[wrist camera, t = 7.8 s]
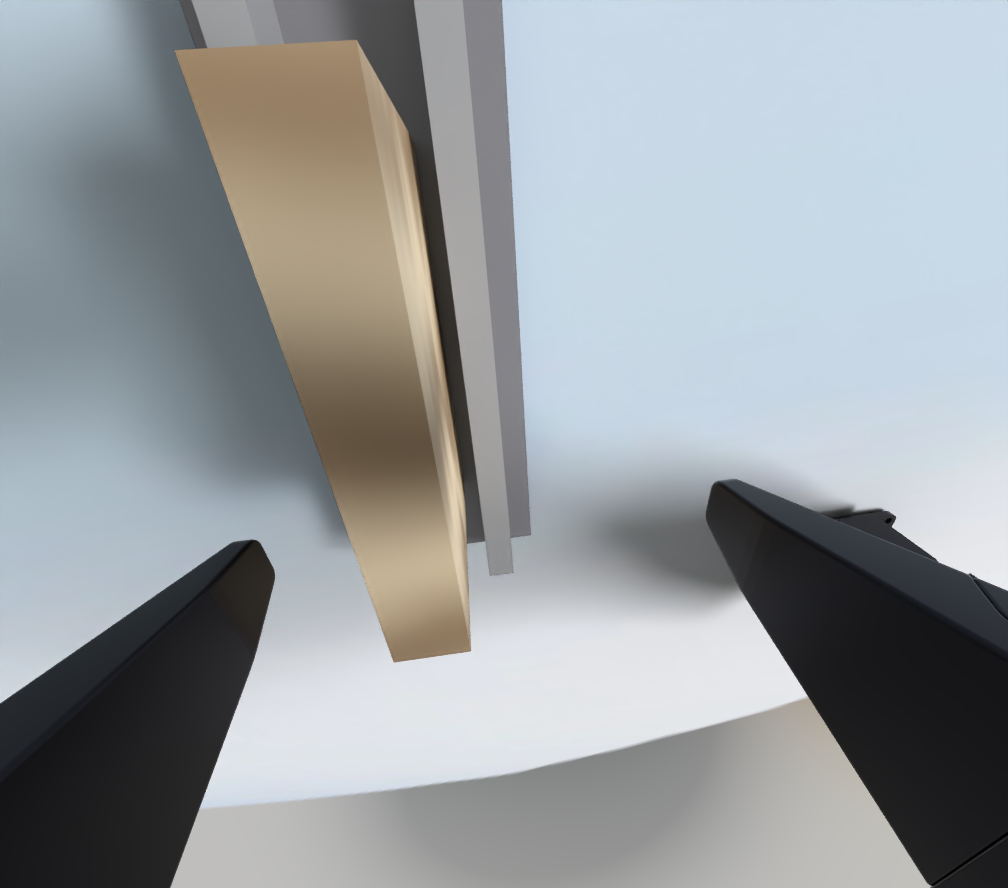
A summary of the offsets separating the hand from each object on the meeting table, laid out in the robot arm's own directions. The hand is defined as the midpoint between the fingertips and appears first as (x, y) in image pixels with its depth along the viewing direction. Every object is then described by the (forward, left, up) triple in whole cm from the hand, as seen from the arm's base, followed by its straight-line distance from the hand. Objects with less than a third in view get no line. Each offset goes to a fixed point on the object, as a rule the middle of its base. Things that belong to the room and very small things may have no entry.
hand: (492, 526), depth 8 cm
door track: (+1, +2, -12) cm, 12 cm away
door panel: (+1, +2, -11) cm, 11 cm away
